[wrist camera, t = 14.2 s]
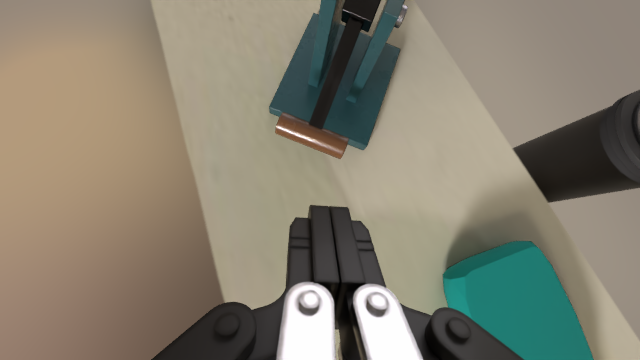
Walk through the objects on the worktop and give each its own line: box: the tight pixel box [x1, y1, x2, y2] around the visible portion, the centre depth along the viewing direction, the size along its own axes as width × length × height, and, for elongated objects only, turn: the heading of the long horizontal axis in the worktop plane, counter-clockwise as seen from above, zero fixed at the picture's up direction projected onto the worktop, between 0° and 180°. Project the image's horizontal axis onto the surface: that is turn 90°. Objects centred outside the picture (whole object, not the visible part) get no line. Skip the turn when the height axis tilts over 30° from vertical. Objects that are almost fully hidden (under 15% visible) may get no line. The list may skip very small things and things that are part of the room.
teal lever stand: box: [269, 0, 408, 150], centre depth 23 cm, size 12×10×12 cm
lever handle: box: [275, 0, 381, 159], centre depth 20 cm, size 12×6×2 cm, turn 161°
